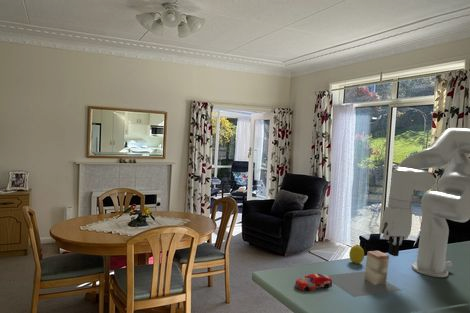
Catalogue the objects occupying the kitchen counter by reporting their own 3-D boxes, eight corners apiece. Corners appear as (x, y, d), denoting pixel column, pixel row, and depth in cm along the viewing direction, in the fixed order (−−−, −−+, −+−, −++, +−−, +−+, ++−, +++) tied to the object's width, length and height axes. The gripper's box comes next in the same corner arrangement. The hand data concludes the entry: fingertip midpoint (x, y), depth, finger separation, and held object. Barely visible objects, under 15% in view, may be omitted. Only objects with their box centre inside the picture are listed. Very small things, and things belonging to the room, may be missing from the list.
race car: (300, 293, 115) (301, 281, 115) (291, 285, 120) (292, 274, 120) (334, 288, 120) (335, 277, 120) (324, 281, 125) (325, 270, 125)
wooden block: (375, 277, 130) (378, 250, 129) (385, 283, 125) (389, 255, 125) (364, 278, 128) (367, 251, 127) (374, 284, 124) (377, 256, 123)
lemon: (364, 267, 140) (366, 247, 140) (349, 265, 141) (351, 246, 141) (362, 262, 146) (364, 243, 145) (347, 260, 147) (349, 241, 146)
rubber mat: (367, 272, 136) (368, 271, 136) (401, 291, 121) (401, 290, 121) (323, 277, 128) (323, 275, 128) (353, 298, 114) (353, 296, 113)
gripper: (407, 202, 133) (400, 250, 135) (375, 201, 128) (369, 251, 129) (424, 206, 126) (417, 257, 128) (391, 206, 121) (384, 259, 122)
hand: (393, 254), depth 128 cm, fingers closed
